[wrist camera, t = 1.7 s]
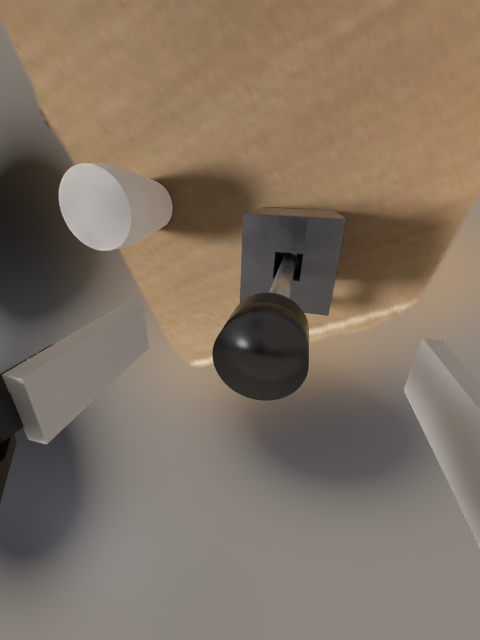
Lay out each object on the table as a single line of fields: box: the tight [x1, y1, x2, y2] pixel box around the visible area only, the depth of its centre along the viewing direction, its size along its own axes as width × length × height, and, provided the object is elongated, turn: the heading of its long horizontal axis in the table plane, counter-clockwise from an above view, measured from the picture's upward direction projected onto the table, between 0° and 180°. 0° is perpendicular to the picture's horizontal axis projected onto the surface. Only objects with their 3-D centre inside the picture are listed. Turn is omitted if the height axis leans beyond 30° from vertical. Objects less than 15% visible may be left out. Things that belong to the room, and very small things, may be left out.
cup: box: [59, 163, 173, 251], centre depth 34 cm, size 9×9×12 cm
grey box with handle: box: [240, 207, 347, 316], centre depth 32 cm, size 12×9×13 cm
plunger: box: [213, 252, 309, 400], centre depth 20 cm, size 6×6×20 cm
